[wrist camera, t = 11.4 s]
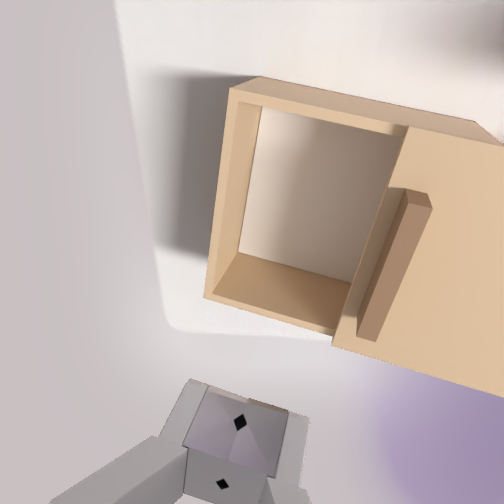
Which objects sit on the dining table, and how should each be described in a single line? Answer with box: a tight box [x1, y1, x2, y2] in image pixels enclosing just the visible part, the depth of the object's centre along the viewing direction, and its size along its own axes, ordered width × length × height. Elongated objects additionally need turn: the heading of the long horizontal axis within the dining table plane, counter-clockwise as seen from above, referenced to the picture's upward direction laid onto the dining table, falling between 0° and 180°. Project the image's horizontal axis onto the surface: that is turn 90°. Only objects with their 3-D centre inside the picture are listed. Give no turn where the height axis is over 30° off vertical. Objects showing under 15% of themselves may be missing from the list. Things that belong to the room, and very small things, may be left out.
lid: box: [332, 124, 504, 397], centre depth 30 cm, size 20×20×4 cm
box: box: [203, 76, 502, 336], centre depth 38 cm, size 20×20×10 cm
